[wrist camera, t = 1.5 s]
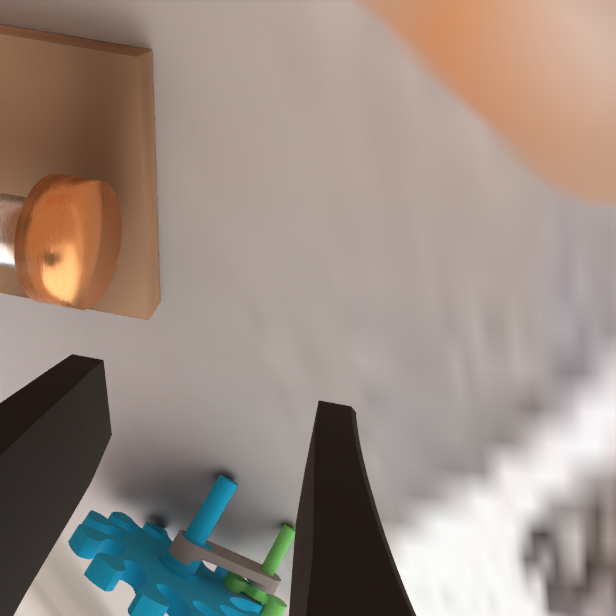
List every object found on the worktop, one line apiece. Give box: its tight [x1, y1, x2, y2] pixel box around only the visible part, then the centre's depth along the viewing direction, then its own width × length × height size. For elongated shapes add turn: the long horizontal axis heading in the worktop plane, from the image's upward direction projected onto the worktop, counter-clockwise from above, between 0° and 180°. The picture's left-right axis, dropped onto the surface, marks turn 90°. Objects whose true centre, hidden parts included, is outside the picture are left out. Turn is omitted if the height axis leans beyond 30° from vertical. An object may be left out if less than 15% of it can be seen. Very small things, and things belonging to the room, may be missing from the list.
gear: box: [68, 474, 295, 616], centre depth 25 cm, size 11×6×10 cm
